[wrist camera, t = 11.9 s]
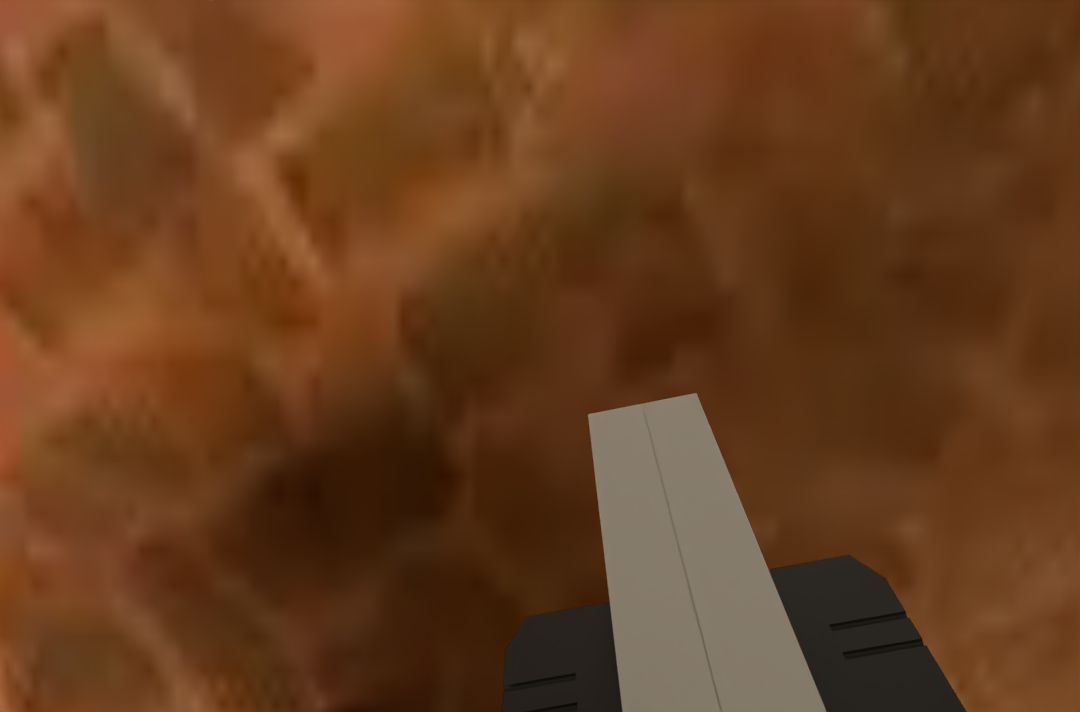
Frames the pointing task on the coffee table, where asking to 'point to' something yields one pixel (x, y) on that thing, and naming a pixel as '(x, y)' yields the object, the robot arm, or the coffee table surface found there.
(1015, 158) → the coffee table surface
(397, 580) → the coffee table surface
